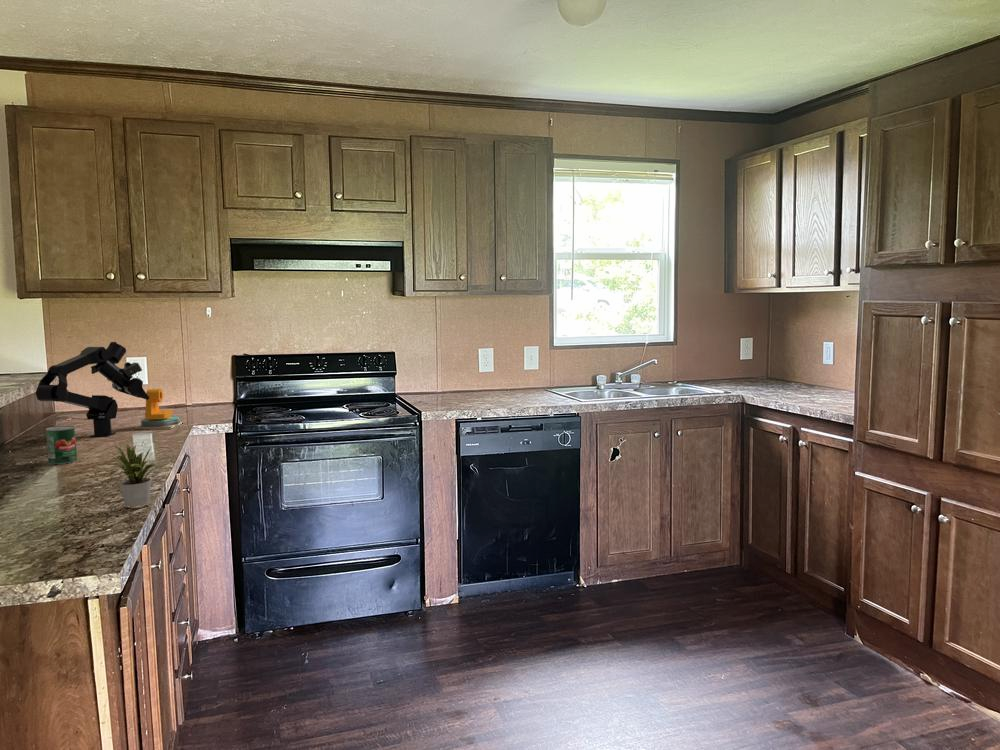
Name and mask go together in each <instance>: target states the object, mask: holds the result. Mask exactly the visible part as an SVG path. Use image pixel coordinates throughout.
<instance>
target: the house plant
mask: <svg viewBox="0 0 1000 750" xmlns="http://www.w3.org/2000/svg"><path fill="white" fill-rule="evenodd" d="M125 445H126V455H127V457H126V455H125V453H124V451H123V450H122V448H120V447H119V446H116V445H113V444H112V445H111V446H112V447H115V448H116V449H117V450H118V452H119V454H120V455H116V454H115V453H112V452H110V451H108V453H109V454H111V455H107V454H106V456H107V457H108V456H109V457H111V458H113V459H115V457H116V458H117V460H119V461H120V462H121V463H122V464H120V465H118V466H117V468H119V469H121V470H120V472H121V473H124V474H125V476H126V477H127V479H125V477H124V476H121V474H119V473H118V472H119V470H118V469H117V470H112V469H110V468H109V470H110V472H109V473H108V475H107V477H109V476H111V475H112V474H114V473H117V475H119V476H120V477H122V478H124V480H121V481H120V482H119V486H120V490H121V494H122V498H123V501H124V505H126V506H136V505H143V504H147V503H149V504H150V495H151V489H152V488H151V487H152V479H151V478H149V477H148V475H149V474H150V473H152V471H154V470H156V469H158V467H155V468H152V467H154V466H156V464H154V463H153V464H149V465H146V464H147V463H148V462H151V460H149V459H148V458H147V457H148V455H149V453H150V451H151V448H152V446H151V447H150V448H149V449H148V451H147V452H146V454H145V456H144V458H143V454H144V452H140V453H138V454H136V446H137V445H134V446H133V447H131V446H130V445H129V444H128V443H126V444H125ZM161 448H163V446H161V447H158V448H157V449H155V450H154V451H153V452H152V453H151V454H150V456H152V455H153V454H154V453H155V452H156V451H157V450H159V449H161ZM112 455H113V456H115V457H113V456H112ZM102 456H105V454H104V455H102ZM146 458H147V460H146ZM145 465H146V466H145ZM144 466H145V467H144ZM150 468H152V469H151V470H150ZM148 470H150V471H149V472H148V473H147V471H148ZM145 474H146V475H145ZM144 475H145V477H144ZM126 506H125V507H126Z"/></svg>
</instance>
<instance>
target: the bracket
mask: <svg viewBox="0 0 1000 750" xmlns="http://www.w3.org/2000/svg"><path fill="white" fill-rule="evenodd" d="M145 392H146V394H147V395H148V396H149V399H148V400H146V399H145V412H144V419H148V420H168V419H169V418H171V416H174V415H173V409H160V405H159V403H162V402H163V401H164V392H163V389H162V388H147V389H146V391H145Z"/></svg>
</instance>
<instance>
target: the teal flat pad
mask: <svg viewBox="0 0 1000 750" xmlns="http://www.w3.org/2000/svg"><path fill="white" fill-rule="evenodd" d="M184 422H186V423H187V421H186V420H180V417H179V416H178V415H177V416H176V415H171V418H169V419H168V420H148V419H145V418H143V419H141V420H140V425H137V426H134V430H135V429H158V430H172V429H171V428H173V427H175V426H177V427H179V426H178V425H180V424H182V423H184ZM184 424H185V423H184ZM182 425H183V424H182ZM180 426H181V425H180ZM175 428H176V427H175ZM173 429H174V428H173Z"/></svg>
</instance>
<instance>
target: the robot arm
mask: <svg viewBox="0 0 1000 750" xmlns="http://www.w3.org/2000/svg"><path fill="white" fill-rule="evenodd" d="M126 354H127V349H126V347H125V346H122V344H119V343H117V342H116V341H110V342H109V345H108V346H107V347H106V348H105V347H104V346H87V347H85V348H84V349H83V350H81V351H80V353H79V354H78V355H76V356H73V357H70V358H69V359H66V360H64V361H62V362H60V363H57V364H53V365H50V367H49V368H48V370H47V372H46V374H45V375H44V376H42V378H41V379H40V380H39V383H38V385H37V388H36V390H35V396H36V399H37V400H38V401H39V402H52V403H53V402H54V403H55V402H57V403H58V402H59V403H64V404H69V405H73V406H77V407H80V408H81V407H82V408H85V409H88V411H87V413H86V414H85V416H86V419H87V420H89V421H90V420H93V421H92V422H93V433H92V434H90V437H109V436H111V435H114V434H116V433H117V432H116V431H113V429H112V420H113V419H116V418H117V414H118V413H117V412H118V407H119V406H118V403H117V400H116V399H115V398H114V397H113V396H107V395H104V394H102V395H101V394H100V395H99V394H96V395H95V394H92V395H91V396H88V395H84V394H80V393H75V392H72V391H69V390H68V389H67V388H68V385H69V384H68V379H67V377H68V374H71V373H73V372H76V371H78V370H80V369H82V368H85V367H87V366H88V365H92V366H90V368H91V370H90V371H91V375H94V374H97V373H99V374H100V375H102V376H103V377H104V378H106V381H108V382H111V383H112V384H111V387H112V389H114V390H115V391H117V392H119V393H122V394H126V395H130V396H132V397H136V398H139V399H140V398H141V399H143V400H145V401H146V400H148V399H149V396H148V395H147V394H146V392H147V391H145V390H144V387H143V385H144V383H143V382H144V381H143V380H142V379H141V378H138V377H134V376H133V375H135V374H138V373H139V372H142V371H143V369H142V367H141V365H140V364H139V362H132V363H131V362H130V361H127V362H125V363H124V367H123V368H122V367H121V368H120V367H119V366H117V364H119V363H120V362H121V361H122V358H124V356H125V355H126ZM56 378H58V383H57V384H51V383H52V382H54V380H55V379H56Z"/></svg>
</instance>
